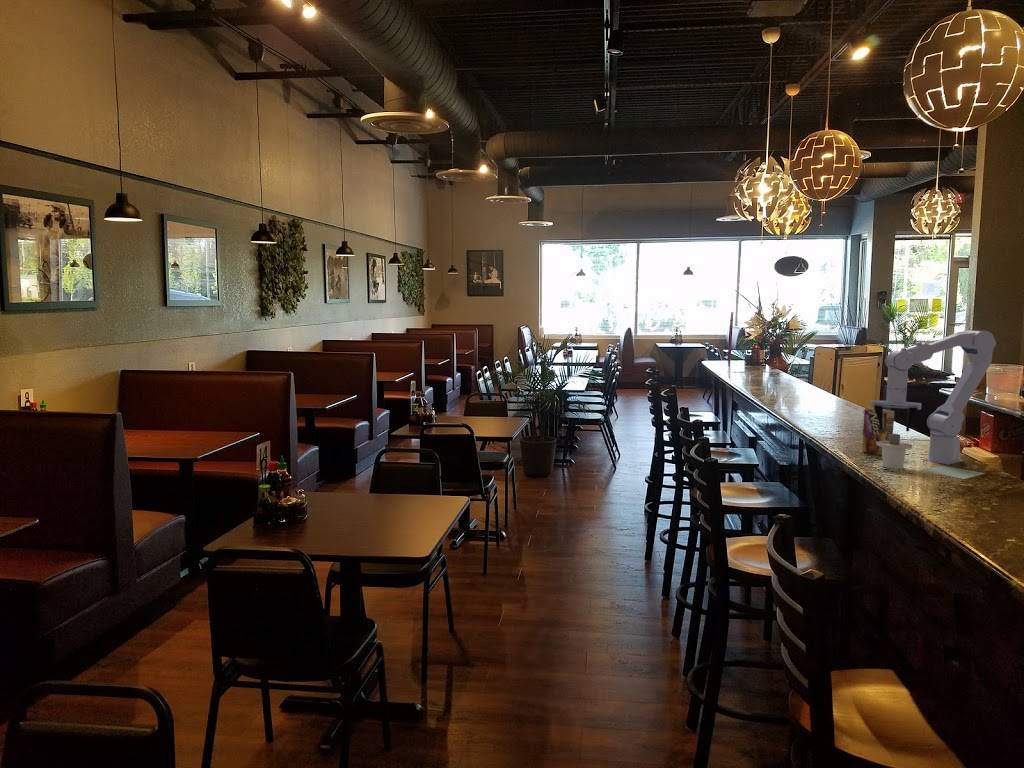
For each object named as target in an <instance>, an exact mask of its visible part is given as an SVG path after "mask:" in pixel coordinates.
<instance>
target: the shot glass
mask: <svg viewBox="0 0 1024 768" xmlns="http://www.w3.org/2000/svg"><path fill="white" fill-rule="evenodd" d="M906 452H907V449H892V448H885V447H882V455H881V456H882V457H881V458H882V459H881V460H882V462H881V463H882V467H884V468H888V469H895V470H897V469H903V468H904V464H905V463H904V462H905V457H906V456H905V455H906Z"/></svg>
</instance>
